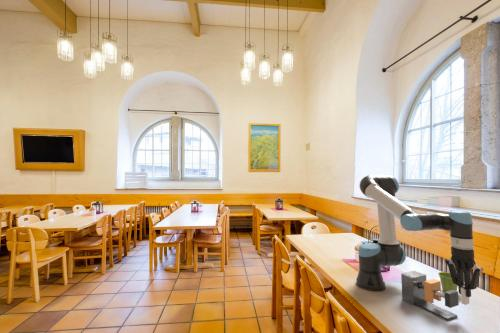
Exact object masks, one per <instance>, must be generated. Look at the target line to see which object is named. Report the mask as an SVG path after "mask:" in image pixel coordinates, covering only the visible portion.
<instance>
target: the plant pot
mask: <svg viewBox="0 0 500 333" xmlns="http://www.w3.org/2000/svg"><path fill="white" fill-rule="evenodd" d="M437 275H438V276H439V278H440V280H439V281H441V291H443V292H444V293H445V292H446V291H450V290H455V291H458V285H456V284H454V283H453V281H452V278H451V274H450V272H446V271H439V272H438V273H437Z"/></svg>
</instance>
